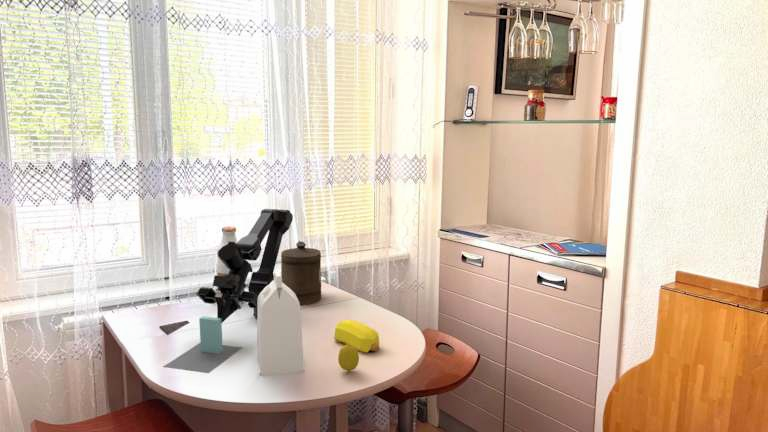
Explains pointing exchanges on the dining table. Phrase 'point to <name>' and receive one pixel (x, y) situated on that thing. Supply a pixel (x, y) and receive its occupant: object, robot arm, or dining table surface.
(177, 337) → the dining table surface
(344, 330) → the yellow kitchen sponge
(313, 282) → the wooden container
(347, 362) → the lemon
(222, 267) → the fruit juice
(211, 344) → the card box
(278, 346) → the milk
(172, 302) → the dining table surface
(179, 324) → the chocolate bar
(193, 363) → the mat
